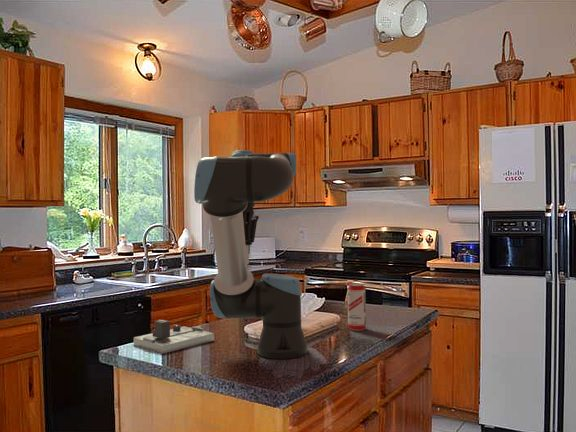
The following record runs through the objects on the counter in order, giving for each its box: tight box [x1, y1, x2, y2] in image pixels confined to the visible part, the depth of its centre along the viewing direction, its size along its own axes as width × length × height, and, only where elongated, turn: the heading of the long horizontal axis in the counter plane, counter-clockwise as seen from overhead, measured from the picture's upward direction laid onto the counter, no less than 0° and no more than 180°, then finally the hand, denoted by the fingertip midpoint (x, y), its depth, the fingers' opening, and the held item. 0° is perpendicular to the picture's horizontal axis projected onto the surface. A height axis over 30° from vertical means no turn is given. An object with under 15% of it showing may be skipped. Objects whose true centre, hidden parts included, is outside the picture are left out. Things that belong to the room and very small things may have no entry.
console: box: [133, 324, 215, 355], centre depth 171 cm, size 16×20×4 cm
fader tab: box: [154, 319, 171, 339], centre depth 167 cm, size 4×3×5 cm
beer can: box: [347, 282, 367, 332], centre depth 185 cm, size 6×6×16 cm
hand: (244, 263), depth 181 cm, fingers closed
